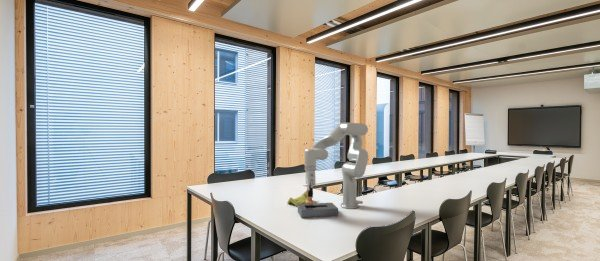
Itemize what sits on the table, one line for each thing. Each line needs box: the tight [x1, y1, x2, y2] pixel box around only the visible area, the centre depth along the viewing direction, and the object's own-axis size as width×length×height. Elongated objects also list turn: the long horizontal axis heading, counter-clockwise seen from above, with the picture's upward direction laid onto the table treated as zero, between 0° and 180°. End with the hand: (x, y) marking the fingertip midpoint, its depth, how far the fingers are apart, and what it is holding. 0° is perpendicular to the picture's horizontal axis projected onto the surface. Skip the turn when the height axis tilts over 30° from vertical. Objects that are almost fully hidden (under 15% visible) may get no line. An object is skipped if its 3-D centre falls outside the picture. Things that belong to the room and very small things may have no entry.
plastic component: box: [287, 190, 314, 208], centre depth 212 cm, size 20×7×10 cm
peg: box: [306, 193, 314, 205], centre depth 185 cm, size 5×5×11 cm
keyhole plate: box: [297, 202, 339, 219], centre depth 186 cm, size 24×14×5 cm, turn 100°
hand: (309, 195), depth 185 cm, fingers closed on peg, 3 cm apart
